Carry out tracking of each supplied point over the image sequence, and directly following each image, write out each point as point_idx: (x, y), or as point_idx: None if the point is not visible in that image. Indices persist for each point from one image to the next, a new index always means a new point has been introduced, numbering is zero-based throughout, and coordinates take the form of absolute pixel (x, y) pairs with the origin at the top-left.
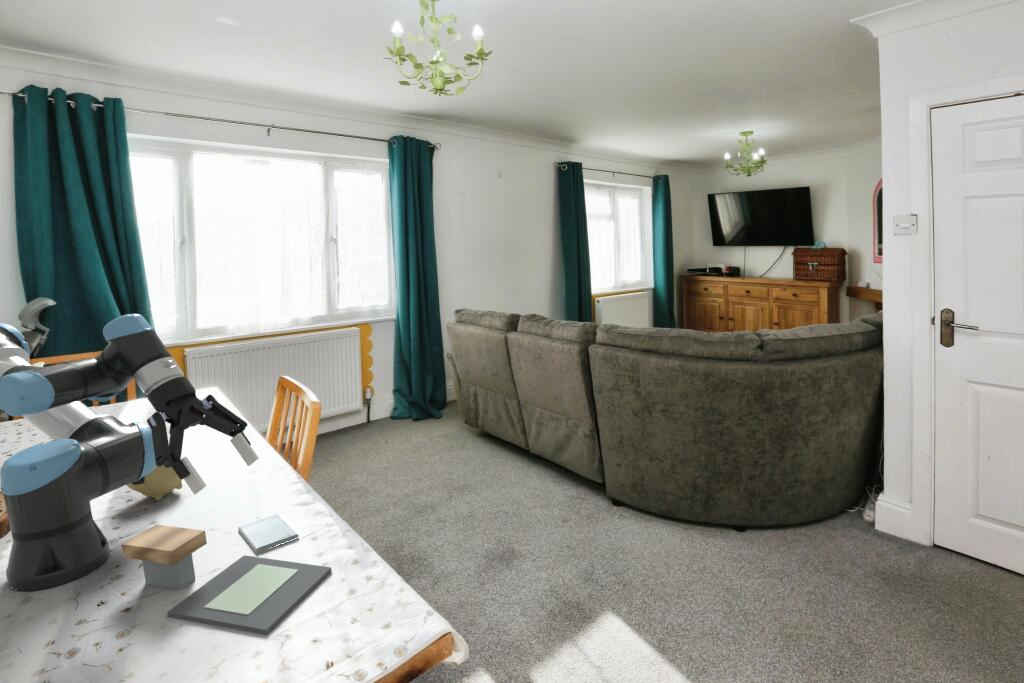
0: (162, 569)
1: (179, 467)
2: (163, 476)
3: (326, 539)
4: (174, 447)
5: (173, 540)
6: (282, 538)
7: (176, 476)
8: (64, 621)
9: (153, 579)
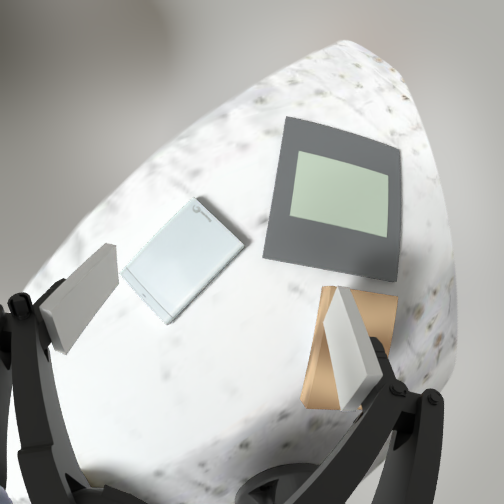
0: None
1: (389, 364)
2: None
3: (199, 154)
4: (390, 431)
5: (367, 324)
6: (209, 215)
7: None
8: None
9: None
